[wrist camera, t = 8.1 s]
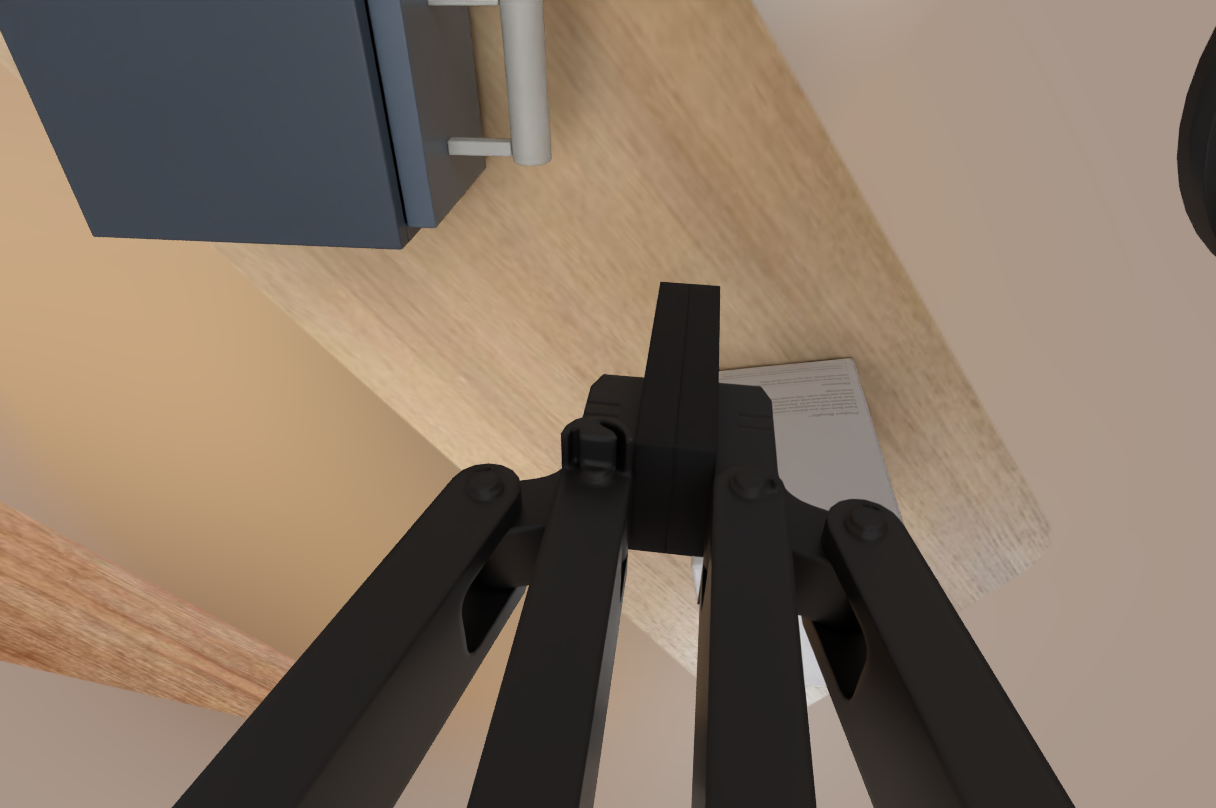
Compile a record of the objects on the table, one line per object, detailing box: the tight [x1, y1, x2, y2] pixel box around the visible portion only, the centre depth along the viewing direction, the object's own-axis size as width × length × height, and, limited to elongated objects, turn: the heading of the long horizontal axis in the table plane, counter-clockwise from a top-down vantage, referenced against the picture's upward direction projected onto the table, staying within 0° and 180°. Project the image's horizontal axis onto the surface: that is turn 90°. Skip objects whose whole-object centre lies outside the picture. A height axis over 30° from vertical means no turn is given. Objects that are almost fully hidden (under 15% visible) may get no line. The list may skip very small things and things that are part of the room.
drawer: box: [364, 0, 552, 228], centre depth 30 cm, size 17×10×8 cm, turn 91°
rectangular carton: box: [691, 358, 904, 687], centre depth 37 cm, size 9×9×15 cm
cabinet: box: [0, 0, 421, 250], centre depth 30 cm, size 14×12×10 cm
